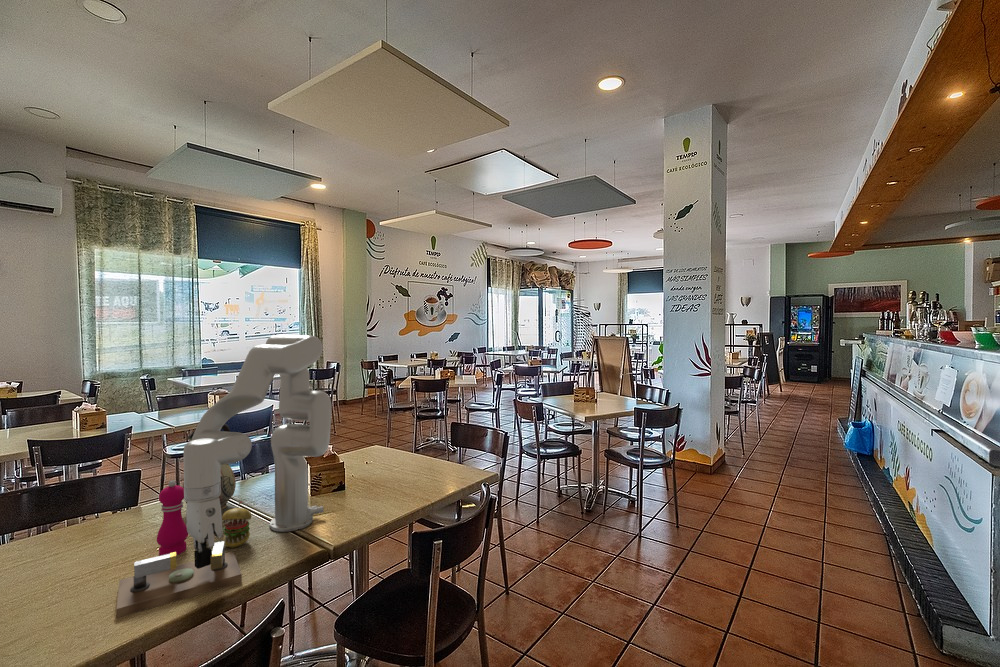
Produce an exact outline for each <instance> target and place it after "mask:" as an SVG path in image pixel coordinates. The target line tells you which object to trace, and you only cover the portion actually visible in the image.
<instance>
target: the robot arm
mask: <svg viewBox="0 0 1000 667" xmlns="http://www.w3.org/2000/svg"><path fill="white" fill-rule="evenodd" d="M322 354H323V344H322V341H321V339H319V337H317V336H315V335H308V334H276V335H272V336H270V337H269V338H267V339H266V342H265V344H259V345H255V346H253V347H252V348H251V349H249V351H248V353H247V355H246V358H245V359H244V362H243V364H242V366H241V369H240V370H239V373H238V375H237V377H236V380H235V381H234V383H233V387H232V388H231V390H230V391H229V392H228V393H227V394H226V395H225V396H223V397H221V398H220V399H219V400H217V402H215V403H214V404H213V405H212V406H210V407H209V408H208V410H207V411H205V413H204V414H203V415H202V417H201V418H200V420H199V422H198V424H197V426H196V428H195V430H194V431H195V432H194V431H193V432H194V435H193V437H192V440H190V441H188V442H186V443H185V444H184V447H183V483H184V499H183V500H184V501H183V502H185V503H186V502H187V504H186V516H185V517H186V518H185V519H186V521H185V522H186V523H185V524H186V526H187V532H188V536H191V538H192V539H193V549H194V551H193V553H194V561H195V567H196V568H197V569H199V568H202V567H205V566H208V565H210V564H211V555H212V551H213V547H214V546H215V544H214V543H215V537H217V538H222V537H223V534H224V531H223V520H222V515H223V514H222V510H221V505H220V499H219V496H220V494H221V476H220V467H221V465H224V464H229V465H230V464H233V463H237V462H241V461H243V460H244V459H245V458H246V457H248V455H249V454H251V453H250V452H251V450H252V447H253V443H252V439H251V438H250V437H249V435H247V434H246V433H243V432H237V431H230V432H226V431H224V430H222V429H221V428H222V426H223V425H224V424H225V423H226V424H227V422H228V420H230V419H231V418H232V417H234V416H236V415H237V414H239V413H242V412H244V411H246V410H249V409H251V408H254V407H256V406H258V405H260V404H262V403H263V402H264V400H265V398H266V396H267V393H268V391H269V390H270V386H271V384H272V381H273V378H274V377H275V376H276V375H280V387H279V397H278V398H279V400H278V413H279V415H280V417H282V418H283V419H285V420H291V421H308V422H309V424H299V423H298V424H297V423H287V424H281V425H279V426H277V427H276V428H275V429H274V430H273V431H272V433H271V437H270V446H271V451H272V455H273V461H274V462H273V463H274V518H272V519H271V520H270V522H269V529H271V531H273V532H281V533H283V532H284V533H288V532H294V531H299V530H302V529H305V528H306V527H308V526H309V525H311V524H312V523H313V520H314V515H315V514H320V513H321V514H322V513H323V512H324V506H323V505H321V506H318V505H312V506H309V504H308V503H309V501H308V500H309V499H308V498H309V497H308V485H309V484H308V483H309V482H308V480H309V478H308V477H309V476H308V471H309V470H308V464H307V461H306V459H305V457H315V458H316V457H321V456H323V455H324V454H325V453H326V452H327V451H328V449H329V445H330V439H331V424H332V408H333V407H332V406H333V405H332V399H331V397H330V395H329V394H328V393H327V392H326V391H322V390H316V389H315V390H312V389H311V388H310V378H311V377H310V370H309V369H308V367H310V366H312V365H313V364H315V363H316V362H317V361H318V360H319V359H320V358H321V356H322ZM298 529H299V530H298Z"/></svg>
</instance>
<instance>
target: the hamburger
mask: <svg viewBox="0 0 1000 667" xmlns="http://www.w3.org/2000/svg"><path fill="white" fill-rule="evenodd" d="M243 503H245V501H242V500H240V499H238V507H234V508H233V507H232V508H230V509H228V510H226V511H224V513H223V514H222V521H224V524H225V525H224V526H223V527H222V530H223V534H224V536H222V537H223V539H222V541H225V547H227V548H229V549H230V548H232V549H234V548H239V547H241V546H242V545H244V544H245V543H246V542H248V540H249V538H250V525H251V523H250V522H249V521H250V520H251V519H252V512H251V511H250V510H248V509H247V508H244V507H239V506H240V505H241V504H243Z"/></svg>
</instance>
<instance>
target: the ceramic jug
mask: <svg viewBox="0 0 1000 667" xmlns="http://www.w3.org/2000/svg"><path fill="white" fill-rule="evenodd" d="M221 430H222V431H226V432H231V430H230V427H229V425H228V424H227V422H226V423H225V424H224V425H223V426H222V428H221ZM194 432H195V430H194V431H192V433H191V434H189V435H188V436H187V437H186V439H188V440H190V441H191V440H192V437H193V435H194ZM220 476H221V494H220V496H219V499H220V505H221V511H223V510H224V509H226V508H227V507H228V505H227V503H228V502H229V501H230V500H231V498H232V497H233V496H234V494H235V492H236V484H237V482H236V476H235V474H234V471H233V469H232V466H230V463H229V464H224V465H221V467H220ZM182 487H183V488H184V482H183V484H182ZM185 504H186V505H187V502H185Z"/></svg>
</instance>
